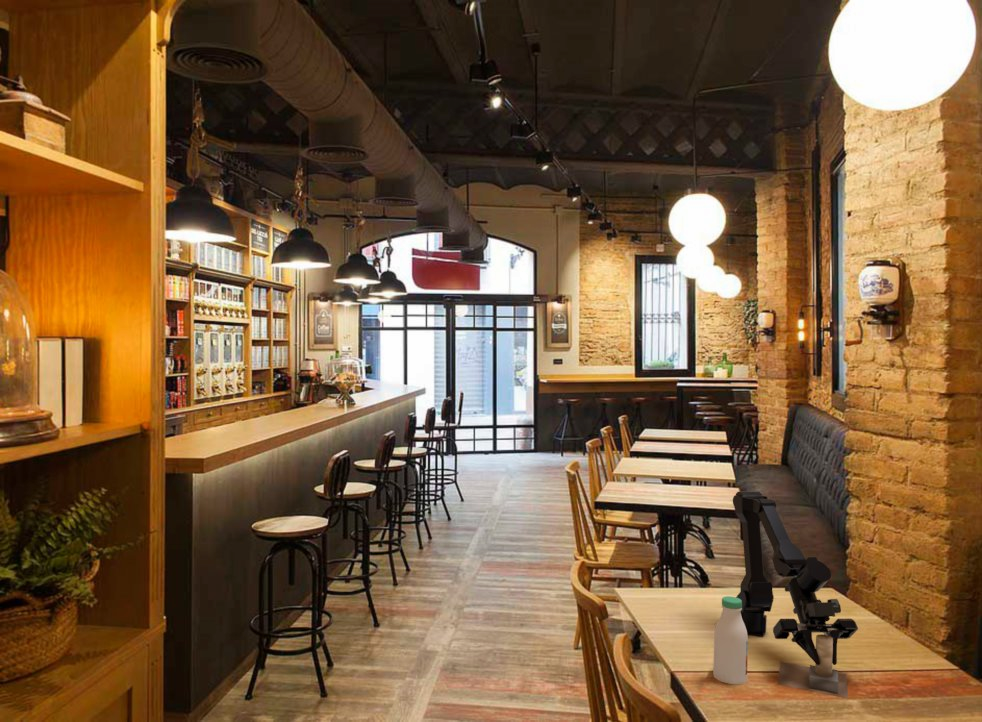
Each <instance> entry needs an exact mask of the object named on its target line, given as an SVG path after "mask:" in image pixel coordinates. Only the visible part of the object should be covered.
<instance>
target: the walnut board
mask: <svg viewBox="0 0 982 722" xmlns="http://www.w3.org/2000/svg"><path fill="white" fill-rule="evenodd" d="M778 669H779V670H778V675H777V676H778V677H777V683H776V684H777V685H778V686H783V687H789V688H793V689H798V690H804V691H809V692H815V693H819V694H824V695H829V696H833V697H839V698H844V699H849V690H848V678H847V677H848V675H847V673H845V672H839V671H838V693H836V692H831V691H826V690H820V689H815V688H810V687H809V677H810V666H807V665H801V664H797V663H791V662H785V661H780V662H779V667H778Z"/></svg>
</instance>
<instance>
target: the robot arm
mask: <svg viewBox="0 0 982 722" xmlns="http://www.w3.org/2000/svg"><path fill="white" fill-rule="evenodd" d="M732 497H733V498H732V504H733V508H734V513H735V515H736V516H737V518H738V519H739V521H740V522H741V529H742V541H743V544H742V545H743V554H744V555H743V558H744V568H745V569H744V570H745V571H744V572H745V575H744V577H743V578H742V580H741V582H740V591H739V593H738V594H737V595H736V596H735V597H736V598H739V599H741V600H742V610H741V616H742V620H743V622H744V624H745V627H746V630H747V635H752V636H757V637H764V635H765V633H767V623H768V620H767V619H768V618H767V617H768V616H767V615H766V614H765V612H768V613H769V612H771V610H772V606H773V602H774V599H775V597H774V591H773V584H772V581H769V580H768V578H766V576H765V573H764V561H763V558H764V557H763V548H762V546H763V545H762V534H761V525H762V527H763V528H764V532H765V535H766V536H767V538H768V540H769V543H770V544H771V547H772V549H773V550H772V551H773V552H772V553H773V554H772V563H773V566H774V570H775V572H776V574H777V575H778V576H780V577H782V578H791V579H789V580H787V582H786V585H785V586H784V592H789V594H790V597H791V601H792V604H793V607H794V608H793V609H792V611H793V615H794V614H795V615H797V618H798V622H799V623H798V622H797V619H795V618H780V619H779V620H778V621H777V622H776V624H775V625H774V626H773V627H772V633H773V636H774V639H776V640H788V638H789V637H790V633H791V634H792V639H791V642H792V643H796V644H797V645H798V646H799V647H800V648H801V649H802V650H803V651H804V652H805V654H807V655H808V657H809V658H810V659H811V660H812V661H813V663H814V664H817V665H819V664H820V660H819V656H818V654H817V651H816V645H815V644H814V641H813V634H814V633H823V635H828V636H830V637H832V638H833V659H832V666H836V665H837V664H838V663H837V662H838V661H837V660H838V655H837V652H838V649H837V648H838V641H839V639H840V640H843V639H845V640H847V639H850V638H852V636H853V635H854V634H855V633H856V632H858V630H859V628H858V625H857V622H856V621H855V620H854V619H853V618H837V619H836V620H835V621H834V622H833V623H827V622H829V621H830V617H833V618H834V617H836V614H841V612H842V607H841V604H840V602H839V600H838V599H837V598H830V599H827V600H826V601H825V602H824V601H822V600H821V599H818V598H817V595H816V593H817V592H819V591H820V590H821V589H822V588H823V587H824V586H825V584H827V582H829V580H830V579H831V577H832V572H831V569H830V568H829V566H827V565H826V564H825V563H823V562H822V561H820V560H818V558H817V556H808V557H807V558H806V556H805V555H804V554H803V551H802V550H801V549H800V547H798V546H796V545H795V544H794V543H793V542H792V541H791V539H790V536H789V534H788V532H787V529H786V528H785V525H784V523H783V521H782V519H781V516H780V515H779V513H778V510H777V505H776V502H775V500H774V499H771V498H770V496H767V495H764V494H762V493H761V491H758V490H757V491H755V490H754V491H752V490H751V491H750V490H749V491H745V490H743V491H736V493H735V495H733V496H732Z"/></svg>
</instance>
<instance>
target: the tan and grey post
mask: <svg viewBox="0 0 982 722" xmlns="http://www.w3.org/2000/svg"><path fill="white" fill-rule="evenodd" d="M815 648H816V651H817V654H818V656H819V660H820V664H819V665H817V664H816V663H814V664H815V665H813V664H812V665H811V664H810V665H809V667H810V677H809V687H810V688H815V689H820V690H826V691H831V692H836V693H838V672H839V671H838V669H834V668H833V663H832V659H833V638H832V637H830V636H828V635H824V634H817V635H815Z"/></svg>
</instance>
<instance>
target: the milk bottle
mask: <svg viewBox="0 0 982 722" xmlns="http://www.w3.org/2000/svg"><path fill="white" fill-rule="evenodd" d="M736 597H737V596H723V597H722V598H721V608H722V611H721V614H720V617H719V619H718V620H717V623H716V626H715V628H714V640H713V664H712V666H713V667H712V669H713V670H712V672H713V673H712V674H713V677H714V678H715V679H716V680H718V681H719V682H722V683H725V684H730V685H742V684H745V683H746V682H747V681H748V663H749V662H748V659H749V658H748V657H749V656H748V650H749V644H748V643H749V639H748V638H749V637H748V634H747V630H746V627H745V624H744V622H743V620H742V616H741V610H742V600H741V599H739V598H736Z"/></svg>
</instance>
